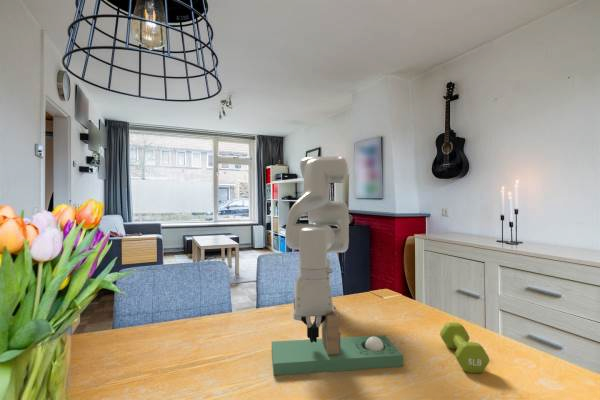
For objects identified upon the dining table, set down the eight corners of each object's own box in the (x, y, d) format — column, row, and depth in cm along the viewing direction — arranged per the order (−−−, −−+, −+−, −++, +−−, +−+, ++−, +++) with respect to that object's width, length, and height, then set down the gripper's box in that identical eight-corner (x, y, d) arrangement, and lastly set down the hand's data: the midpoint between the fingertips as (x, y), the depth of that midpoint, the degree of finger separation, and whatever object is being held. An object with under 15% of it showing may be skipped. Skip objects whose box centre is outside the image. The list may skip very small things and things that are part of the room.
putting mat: (271, 351, 91) (271, 341, 91) (385, 344, 96) (385, 334, 96) (273, 375, 79) (273, 363, 79) (403, 366, 84) (403, 354, 84)
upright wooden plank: (321, 340, 91) (321, 306, 91) (333, 340, 92) (333, 305, 91) (327, 354, 83) (327, 316, 83) (340, 353, 84) (340, 316, 83)
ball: (365, 352, 91) (361, 336, 91) (381, 347, 92) (377, 331, 92) (371, 361, 86) (367, 344, 86) (388, 356, 87) (384, 339, 87)
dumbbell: (491, 376, 79) (491, 348, 79) (457, 374, 80) (457, 345, 80) (466, 345, 96) (466, 321, 95) (438, 343, 97) (438, 320, 97)
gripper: (336, 269, 91) (336, 332, 91) (284, 270, 89) (284, 335, 90) (343, 275, 84) (343, 344, 84) (286, 277, 82) (286, 348, 82)
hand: (312, 339), depth 87 cm, fingers closed
